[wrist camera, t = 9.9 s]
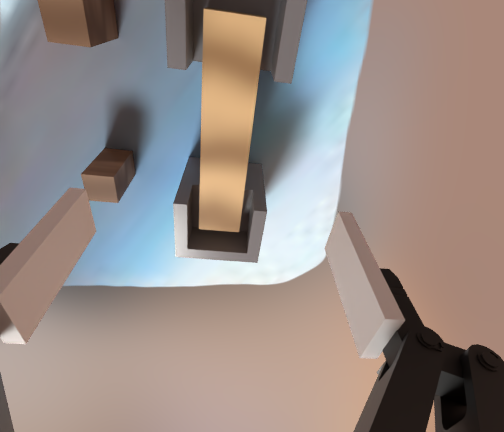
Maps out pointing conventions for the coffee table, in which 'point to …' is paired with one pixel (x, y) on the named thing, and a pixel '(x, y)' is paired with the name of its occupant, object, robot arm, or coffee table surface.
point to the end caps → (254, 202)
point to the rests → (91, 34)
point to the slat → (227, 113)
